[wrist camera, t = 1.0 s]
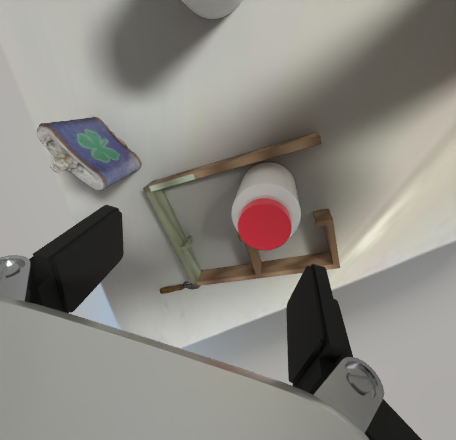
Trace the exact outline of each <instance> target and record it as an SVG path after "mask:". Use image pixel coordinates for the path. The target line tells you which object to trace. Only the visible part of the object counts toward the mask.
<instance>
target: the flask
mask: <svg viewBox="0 0 456 440" xmlns="http://www.w3.org/2000/svg"><path fill="white" fill-rule="evenodd" d="M37 136H38V138H39V140H40V141H41V142H42V144H43V145H44V146H45V147H46V148H47V149H48V150H49V151H50V153H51V154H52V155H53V156H54V157H55V161H56V162H53V164H54V165H55V166H56V167H57V168H58V169H59V170H61V171H63V170H69V171H70V172H71V173H73V174H74V175H75V176H76V177H77V178H79V179H80V180H82V181H83V182H84V183H86V184H87V185H88V186H90V187H92V188H93V189H95V190H98V191H101V190H103V189H105V188H107V187H108V186H110V185H112V184H114V183H115V182H117V181H119V180H121V179H122V178H124V177H126V176H128V175H129V174H131V173H133V172H135V171H137V170H138V169H139V168H140V166H141V162H140V160H139V158H138V157H137V155H136V154H135V153H134V152H131V150H130V149H128V147H127V145H126V144H125V143H124V142H123V141H122V140H121V139H119V138H117V137H115V135H114V133H113V132H111V131H110V130H109V129H108V126H106V125H105V124H104V122H103V121H102V120H101V119H100V118H96V117H93V118H85V119H78V120H70V121H60V122H52V123H44V124H43V123H41V124H40V125H39V127H38V129H37ZM50 167H51V168H52V170H53V171H54V172H57V169H56V168H54V167H53V165H51V166H50ZM59 174H60V175H62V173H59Z"/></svg>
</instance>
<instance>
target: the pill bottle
mask: <svg viewBox="0 0 456 440" xmlns="http://www.w3.org/2000/svg"><path fill="white" fill-rule="evenodd" d="M231 217H232V221H233V225H234V227H235V229H236V230H237V231H238V233H239V235H240V237H241V238H242V240H243V241H244V242H245V243H246V244H248V245H249V246H251V247H253V248H255V249H259V250H272V249H276V248H278V247H280V246H281V245H283V244H284V243H285V242H286V241H287V240H288V238H289V237H291V236H292V235H293V234H294V232H295V231H296V229H297V228H298V226H299V223H300V219H301V210H300V204H299V199H298V194H297V189H296V184H295V181H294V178H293V176H292V174H291V173H290V172H289V171H288V170H287V169H286V168H285V167H283V166H281V165H279V164H276V163H270V162H266V163H260V164H258V165H255V166H254V167H252V168H250V169H249V170H248V171H247V172H246V174H245V175H244V177H243V179H242V181H241V184H240V187H239V189H238V192H237V195H236V197H235V200H234V203H233V205H232V210H231Z"/></svg>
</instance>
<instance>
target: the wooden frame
mask: <svg viewBox="0 0 456 440" xmlns="http://www.w3.org/2000/svg"><path fill="white" fill-rule="evenodd" d="M319 144H321V139H320V136H319V135H318V134H317V133H313V134H310V135H306V136H303V137H300V138H296V139H293V140H289V141H286V142H283V143H279V144H276V145H273V146H269V147H266V148H262V149H259V150H256V151H252V152H249V153H246V154H242V155H239V156H235V157H232V158H229V159H225V160H222V161H218V162H215V163H212V164H208V165H205V166H202V167H198V168H195V169H191V170H188V171H185V172H181V173H178V174H175V175H171V176H168V177H164V178H161V179H158V180H154V181H152V182H151V183H149V184H148V185H147V186H145V187H144V188H143V189H144V191H145V193H146V195H147V197H148V199H149V201H150V202H151V204H152V206H153V208H154V210H155V212H156V214H157V216H158V218H159V220H160V222H161V224H162V226H163V228H164V230H165V232H166V234H167V236H168V238H169V240H170V242H171V244H172V246H173V248H174V250H175V252H176V254H177V256H178V258H179V259H180V261H181V263H182V265H183V267H184V269H185V271H186V273H187V275H188V277H189V279H190V281H191V283H192V285H193V286H201V285H208V284H216V283H224V282H232V281H240V280H248V279H256V278H264V277H272V276H280V275H288V274H296V273H303V272H304V270H305V268H306V266H311V265H312V264H316V265H319V266H323V267H325V268H326V270H328V269H336V268H340V264H339V258H338V251H337V244H336V238H335V231H334V225H333V219H332V216H331V214H330V212H329V209H325V210H320V211H315V212H314V217H315V220H316V224H317V227H320V226H325V229H326V235H327V241H328V247H329V252H326V253H320V254H313V255H306V256H299V257H292V258H285V259H279V260H272V261H265V262H262V261H261V258H260V255H259V252H258V249H255V248H253V247H251V246H249V245H248V244H246V243H245V245H246V248H247V251H248V254H249V256H250V259H251V262H252V263H251V264H245V265H238V266H231V267H224V268H217V269H210V270H204V271H201V269H200V267H199V265H198V263H197V261H196V258H195V256H194V254H193V252H192V250H191V248H190V246H189V245H190V244H191V242H192V238H191V236H190V237H185V235H184V233H183V231H182V229H181V227H180V225H179V222H178V220H177V218H176V216H175V214H174V212H173V210H172V208H171V205H170V203H169V201H168V199H167V197H166V195H165V193H164V191H163V188H166V187H170V186H173V185H177V184H180V183H184V182H188V181H191V180H195V179H198V178H201V177H205V176H209V175H212V174H216V173H219V172H223V171H226V170H230V169H234V168H237V167H241V166H244V165H248V164H251V163H255V162H259V161H262V160H266V159H269V158H273V157H276V156H280V155H283V154H287V153H291V152H294V151H298V150H301V149H305V148H308V147H312V146H316V145H319ZM238 237H239V240H240V241H242V238H241V237H240V235H239V236H238Z"/></svg>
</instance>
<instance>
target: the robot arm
mask: <svg viewBox="0 0 456 440" xmlns="http://www.w3.org/2000/svg"><path fill="white" fill-rule="evenodd" d="M122 257H123V229H122V213H121V212H119V209H118V208H116V207H112V206H109V205H105V206H103V207H101V208H100V209H98V210H97V211H96V212H94V213H93V214H91V215H90V216H88V217H87V218H85V219H84V220H82V221H81V222H79V223H78V224H76V225H75V226H73V227H72V228H70V229H69V230H67V231H66V232H65V233H63V234H62V235H60V236H59V237H57V238H56V239H54V240H53V241H51V242H50V243H48V244H47V245H46V246H44V247H42V248H41V249H39V250H38V251H37V252H35V253H34V254H33V257H32V258H30V259H28V258H26V257H24V256H19V255H13V256H12V255H11V256H5V257H1V258H0V440H422V439H421V438H420V437H418V435H417V434H416V433H415V432H414V431H413V430H412V429H411V428H410V427H409V426H408V425H407V424H406V423H405V422H404V420H403V419H402V418H401V417H400V416H399V415H398V414H397V413H396V412H395V411H394V410H393V409H392V408H391V407H390V406H389V405H388V404H387V403H386V401H385V400H384V399H383V396H384V390H383V385H382V383H381V381H380V379H379V377H378V376H377V374H376V373H375V371H374V370H373V369H372V368H371V367H370V366H369V365H367V364H366V363H365V362H363V361H362V360H359V359H358V358H354V357H353V355H352V351H351V348H350V344H349V340H348V337H347V333H346V329H345V325H344V322H343V318H342V315H341V311H340V307H339V304H338V302H337V300H335V299H333V295H332V291H331V287H330V283H329V279H328V275H327V271H326V268H325V267H323V266H319V265H316V264H312V265H311V266H306V268H305V270H304V272H303V274H302V276H301V278H300V280H299V282H298V284H297V286H296V288H295V290H294V292H293V293H292V295H291V297H290V299H289V301H288V304H287V341H288V372H289V381H290V382H292V383H293V386H291V385H288V384H286V383H283V382H280V381H277V380H274V379H271V378H269V377H265V376H262V375H260V374H256V373H254V372H251V371H248V370H245V369H242V368H239V367H236V366H233V365H229V364H226V363H223V362H220V361H217V360H214V359H211V358H208V357H204V356H202V355H199V354H195V353H192V352H189V351H186V350H183V349H180V348H177V347H174V346H171V345H167V344H164V343H161V342H158V341H155V340H152V339H149V338H145V337H142V336H139V335H136V334H133V333H130V332H126V331H123V330H120V329H117V328H114V327H110V326H107V325H104V324H100V323H98V322H94V321H91V320H88V319H85V318H81V317H78V316H75V315H72V314H68V313H69V312H73V311H74V310H75V309H76V308H77V307H78V306H79V305H80V304H81V303H82V302H83V301H84V299H85V298H86V297H87V296H88V295H89V294H90V293H91V292H92V291H93V290H94V288H96V286H97V285H98V284H99V283H100V282H101V281H102V280H103V279H104V278H105V277H106V276H107V274H108V273H109V272H110V271H111V270H112V269H113V268H114V267H115V266H116V265H117V264H118V262H119V261H120V260H121V259H122Z"/></svg>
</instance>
